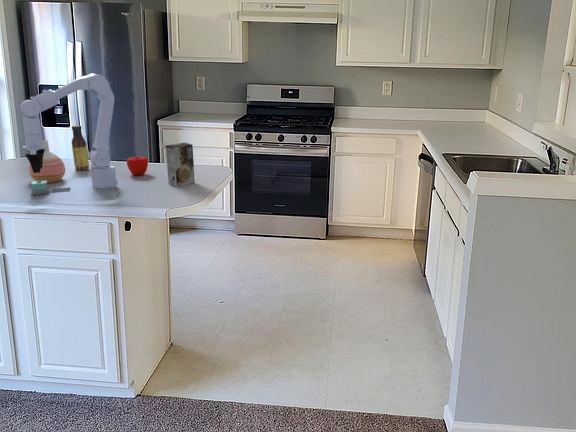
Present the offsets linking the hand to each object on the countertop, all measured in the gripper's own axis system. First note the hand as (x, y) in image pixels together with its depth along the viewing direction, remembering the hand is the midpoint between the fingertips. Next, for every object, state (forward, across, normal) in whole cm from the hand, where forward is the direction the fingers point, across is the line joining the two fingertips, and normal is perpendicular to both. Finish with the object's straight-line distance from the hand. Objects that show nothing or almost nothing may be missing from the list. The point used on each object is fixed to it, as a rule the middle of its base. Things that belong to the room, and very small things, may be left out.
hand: (38, 170), depth 209 cm
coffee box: (+10, -5, +53) cm, 54 cm away
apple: (+10, -27, +37) cm, 47 cm away
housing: (+9, 0, 0) cm, 9 cm away
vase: (+10, -21, +1) cm, 23 cm away
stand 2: (+10, -3, +7) cm, 12 cm away
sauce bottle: (+10, -46, +13) cm, 49 cm away
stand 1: (+10, 0, 0) cm, 10 cm away
